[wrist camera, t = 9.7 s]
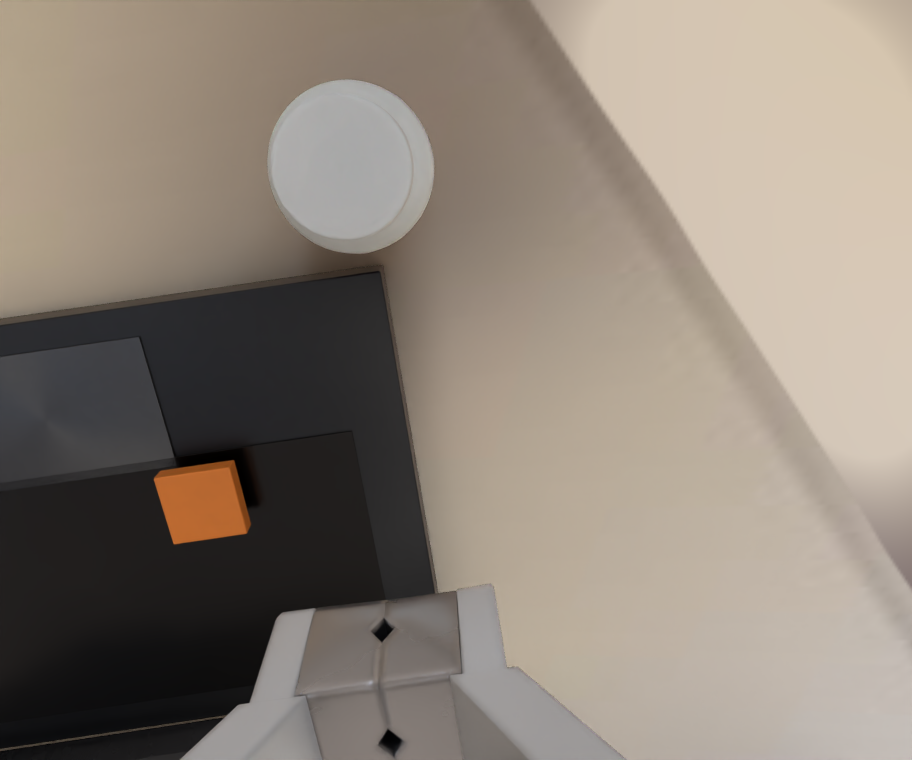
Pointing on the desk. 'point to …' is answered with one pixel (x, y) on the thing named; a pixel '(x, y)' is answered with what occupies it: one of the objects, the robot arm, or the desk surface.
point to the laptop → (182, 445)
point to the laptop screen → (122, 745)
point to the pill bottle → (350, 166)
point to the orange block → (203, 502)
